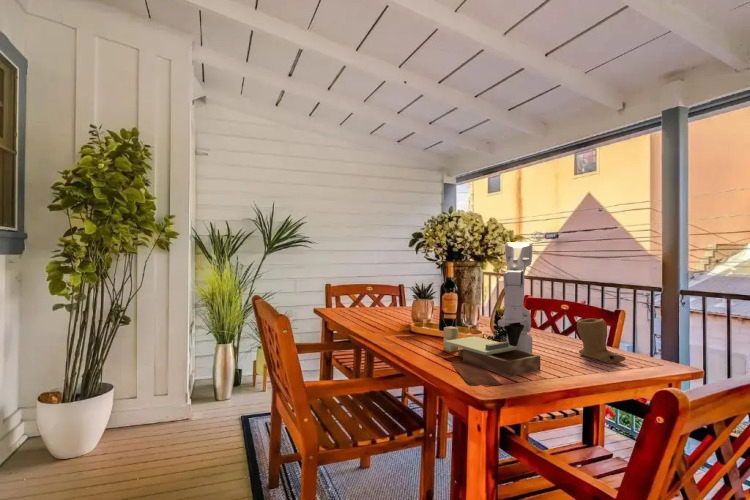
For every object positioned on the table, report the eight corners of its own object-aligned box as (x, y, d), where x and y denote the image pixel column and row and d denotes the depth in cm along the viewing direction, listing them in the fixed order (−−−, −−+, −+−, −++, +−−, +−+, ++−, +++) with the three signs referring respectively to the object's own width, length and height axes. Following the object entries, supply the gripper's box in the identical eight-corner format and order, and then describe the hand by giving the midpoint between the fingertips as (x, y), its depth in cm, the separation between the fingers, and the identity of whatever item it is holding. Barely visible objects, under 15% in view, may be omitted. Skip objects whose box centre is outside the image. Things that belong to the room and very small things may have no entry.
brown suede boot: (569, 354, 158) (570, 315, 158) (597, 353, 159) (598, 315, 159) (596, 365, 143) (596, 322, 143) (626, 364, 144) (627, 322, 144)
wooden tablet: (502, 388, 119) (502, 382, 119) (468, 388, 119) (468, 382, 119) (475, 362, 146) (475, 358, 146) (447, 362, 146) (447, 358, 146)
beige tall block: (450, 348, 165) (451, 326, 165) (457, 350, 161) (458, 328, 161) (443, 349, 162) (443, 327, 162) (450, 351, 159) (450, 329, 159)
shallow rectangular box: (478, 351, 160) (478, 340, 160) (540, 369, 137) (540, 355, 137) (448, 357, 151) (449, 344, 151) (509, 376, 128) (509, 362, 128)
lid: (474, 338, 162) (474, 332, 162) (516, 349, 145) (516, 342, 145) (444, 343, 153) (444, 336, 153) (485, 355, 136) (485, 347, 136)
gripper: (515, 302, 146) (515, 340, 146) (490, 305, 137) (490, 346, 137) (533, 305, 140) (533, 344, 140) (508, 308, 131) (508, 350, 131)
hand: (513, 345), depth 138 cm, fingers closed
